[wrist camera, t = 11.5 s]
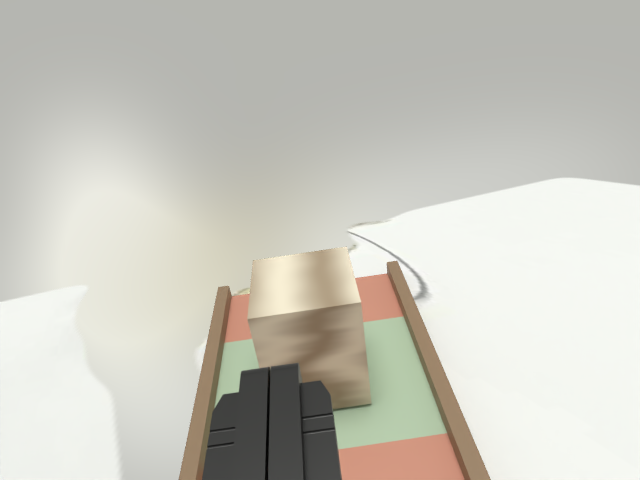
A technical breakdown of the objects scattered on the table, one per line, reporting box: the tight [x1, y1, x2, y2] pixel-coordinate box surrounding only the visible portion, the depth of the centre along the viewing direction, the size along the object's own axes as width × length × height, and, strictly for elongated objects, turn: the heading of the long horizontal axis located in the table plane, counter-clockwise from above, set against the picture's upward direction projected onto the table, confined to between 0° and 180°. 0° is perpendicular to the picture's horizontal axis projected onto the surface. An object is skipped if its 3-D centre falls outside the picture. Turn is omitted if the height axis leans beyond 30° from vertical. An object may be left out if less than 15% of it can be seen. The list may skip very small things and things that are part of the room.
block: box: [247, 247, 372, 409], centre depth 39 cm, size 8×8×10 cm
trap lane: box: [179, 261, 491, 480], centre depth 39 cm, size 20×34×2 cm, turn 4°
